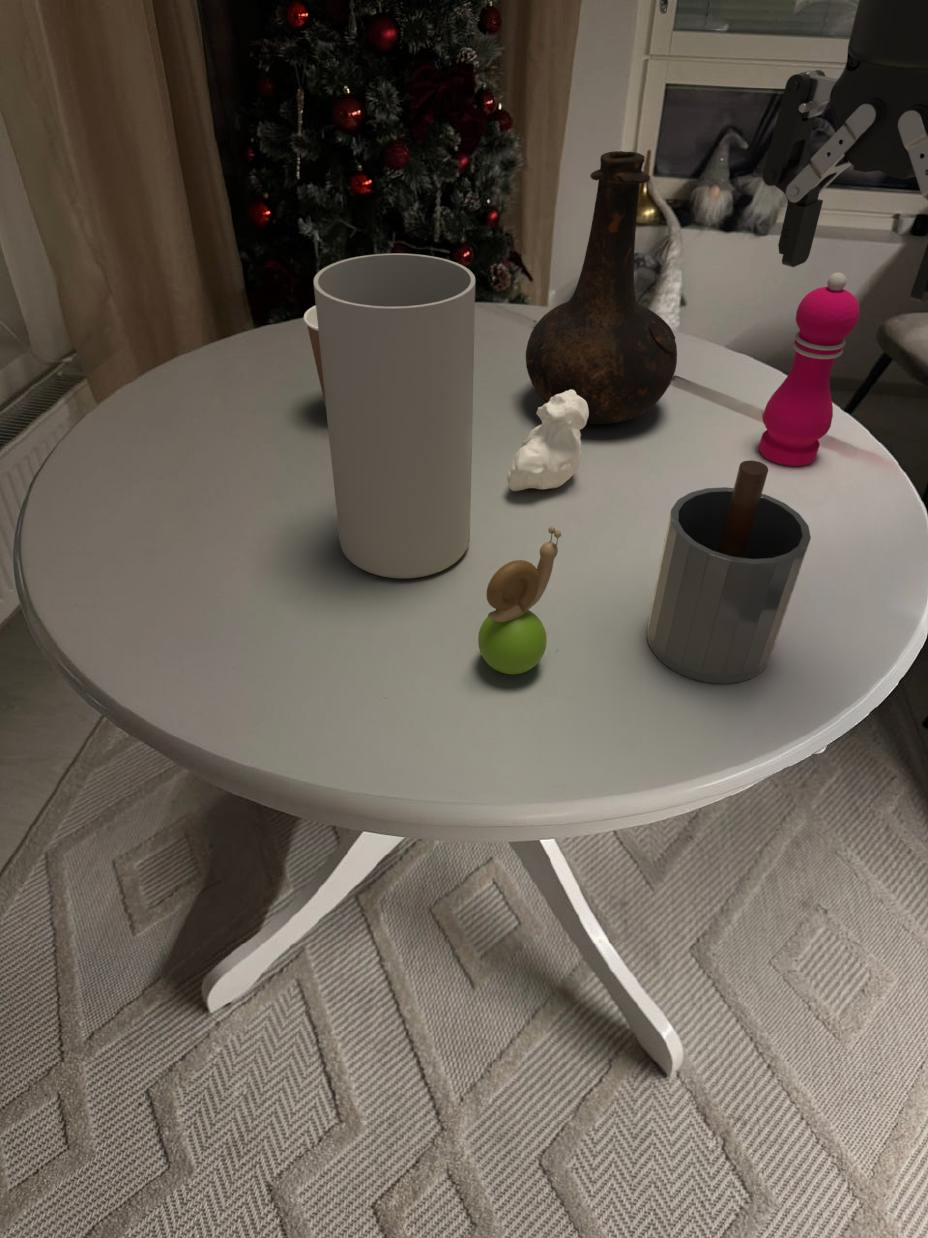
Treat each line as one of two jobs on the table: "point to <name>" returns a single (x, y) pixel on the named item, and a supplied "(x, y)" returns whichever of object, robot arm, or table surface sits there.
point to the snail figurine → (517, 613)
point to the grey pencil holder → (723, 588)
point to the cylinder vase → (399, 408)
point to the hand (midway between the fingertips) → (855, 279)
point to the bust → (551, 445)
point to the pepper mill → (809, 376)
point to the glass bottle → (606, 314)
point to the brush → (743, 508)
